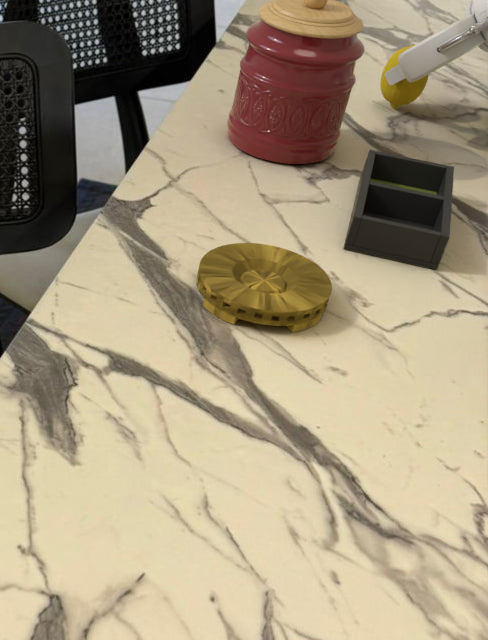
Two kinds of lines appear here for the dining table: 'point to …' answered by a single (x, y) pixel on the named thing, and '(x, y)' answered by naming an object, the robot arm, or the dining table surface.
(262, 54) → the kitchen canister
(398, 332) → the dining table surface
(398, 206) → the pad holder
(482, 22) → the robot arm
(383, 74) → the lemon
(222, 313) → the gold flat round disc
